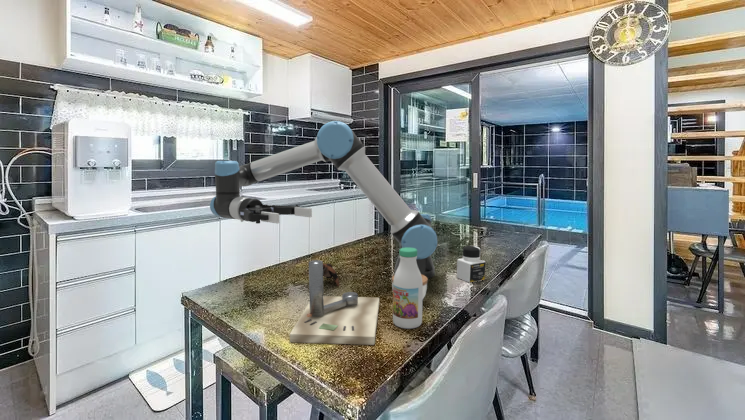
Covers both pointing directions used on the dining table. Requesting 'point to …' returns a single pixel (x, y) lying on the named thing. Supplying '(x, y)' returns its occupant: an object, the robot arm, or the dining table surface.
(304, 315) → the dial board
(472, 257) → the medicine bottle
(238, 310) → the dining table surface
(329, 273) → the pottery mug
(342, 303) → the lever
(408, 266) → the milk bottle
